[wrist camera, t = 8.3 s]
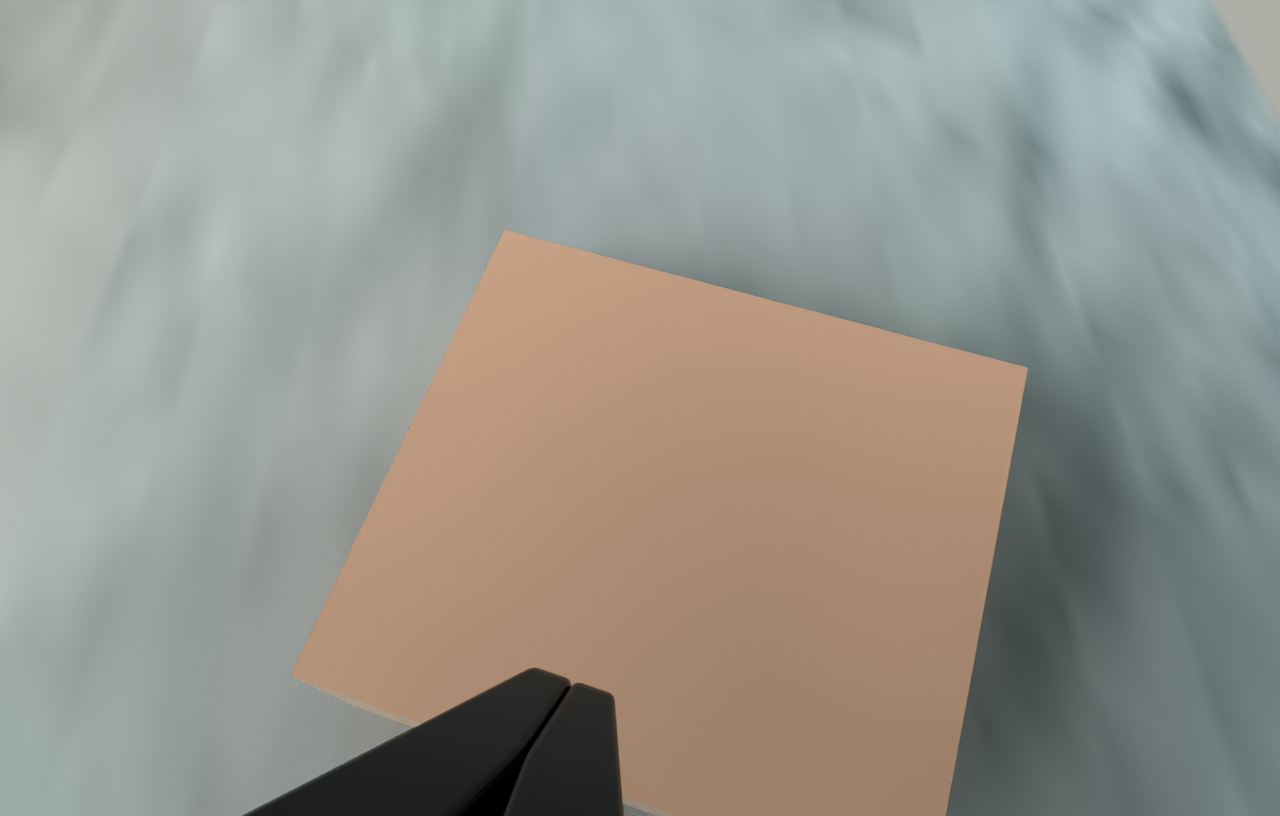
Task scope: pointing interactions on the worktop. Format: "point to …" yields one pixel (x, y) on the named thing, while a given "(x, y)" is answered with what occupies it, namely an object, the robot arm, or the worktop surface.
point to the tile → (689, 536)
